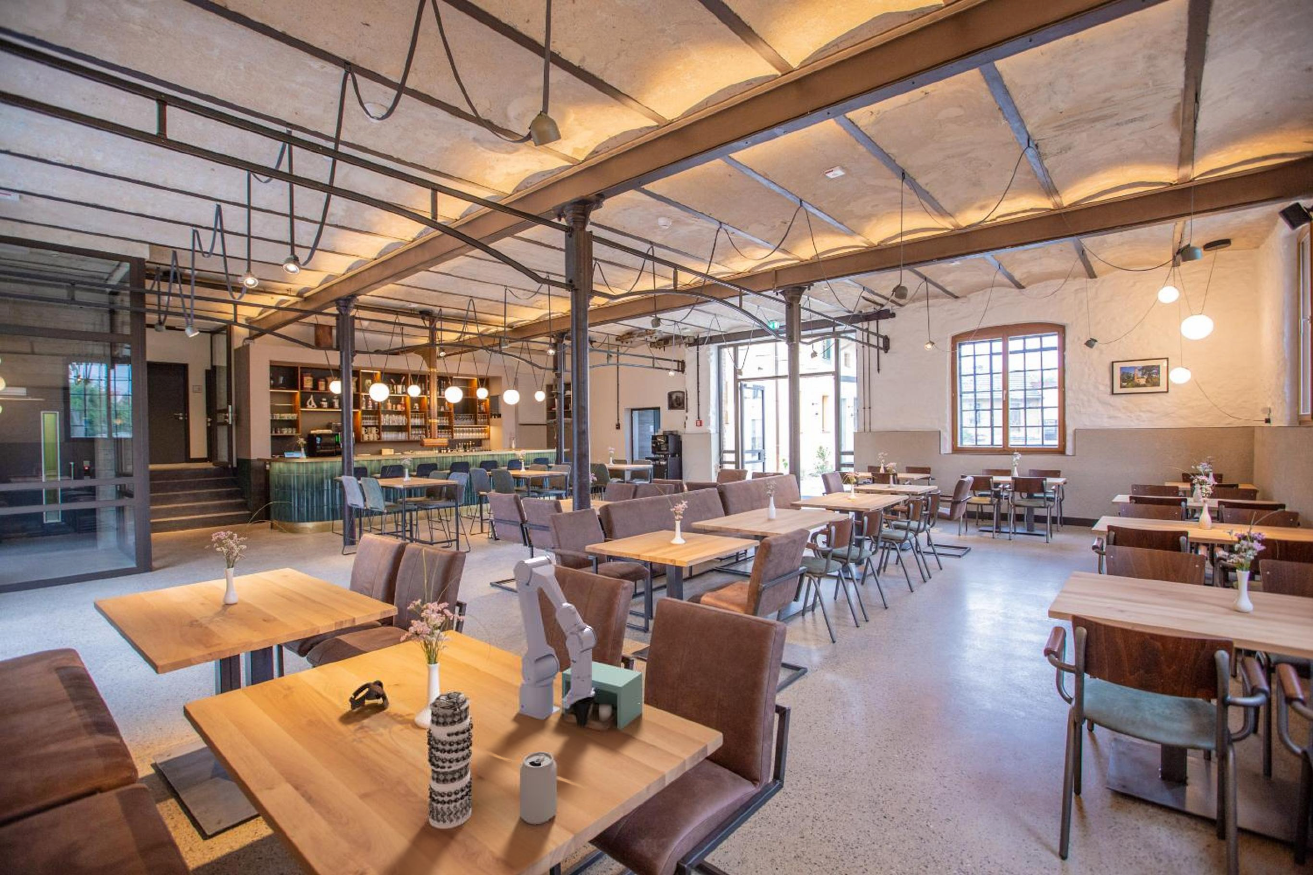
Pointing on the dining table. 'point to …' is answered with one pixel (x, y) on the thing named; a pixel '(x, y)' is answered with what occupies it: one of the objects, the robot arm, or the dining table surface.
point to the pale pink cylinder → (605, 712)
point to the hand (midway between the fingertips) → (581, 724)
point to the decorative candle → (450, 760)
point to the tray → (593, 719)
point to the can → (538, 788)
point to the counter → (613, 690)
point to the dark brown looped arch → (369, 695)
